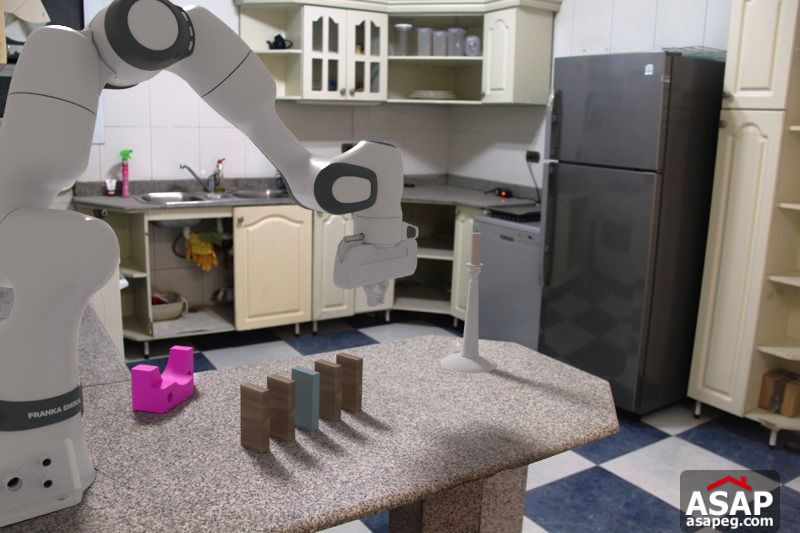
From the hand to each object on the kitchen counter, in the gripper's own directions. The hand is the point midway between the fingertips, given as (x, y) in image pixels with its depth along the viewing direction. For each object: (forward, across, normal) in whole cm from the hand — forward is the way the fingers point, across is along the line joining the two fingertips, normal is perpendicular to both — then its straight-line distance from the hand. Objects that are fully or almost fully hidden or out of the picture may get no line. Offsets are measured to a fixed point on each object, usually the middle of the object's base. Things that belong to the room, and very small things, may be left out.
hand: (375, 305), depth 134 cm
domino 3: (+18, -18, 0) cm, 26 cm away
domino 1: (+18, -29, 0) cm, 34 cm away
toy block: (+18, -25, +28) cm, 42 cm away
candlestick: (+19, +28, -3) cm, 34 cm away
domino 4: (+18, -13, 0) cm, 22 cm away
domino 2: (+18, -24, 0) cm, 30 cm away
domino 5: (+18, -7, 0) cm, 20 cm away
